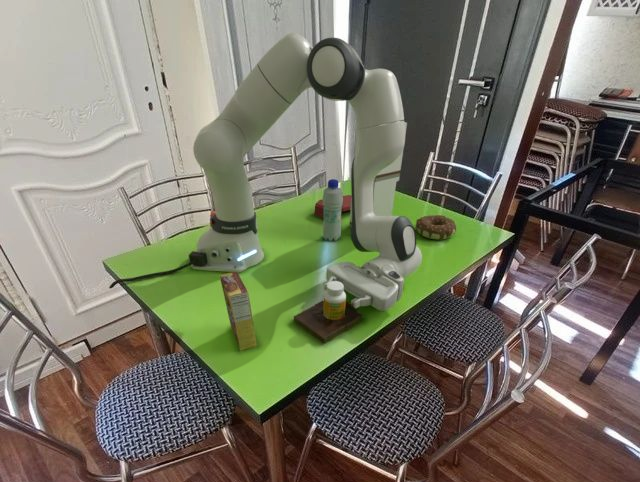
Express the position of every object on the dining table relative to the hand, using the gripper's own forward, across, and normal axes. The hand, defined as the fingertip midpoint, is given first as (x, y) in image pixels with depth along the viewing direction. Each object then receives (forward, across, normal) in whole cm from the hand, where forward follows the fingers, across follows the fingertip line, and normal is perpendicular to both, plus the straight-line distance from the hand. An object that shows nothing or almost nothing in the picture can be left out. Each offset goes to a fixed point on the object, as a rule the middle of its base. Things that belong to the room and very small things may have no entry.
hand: (338, 296), depth 88 cm
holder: (+4, 0, +6) cm, 7 cm away
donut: (-60, -12, +6) cm, 61 cm away
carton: (-51, -49, +6) cm, 71 cm away
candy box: (+22, -9, +6) cm, 25 cm away
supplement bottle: (+2, 0, +6) cm, 6 cm away
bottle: (-29, -33, +6) cm, 45 cm away
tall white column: (-46, -29, +6) cm, 54 cm away
